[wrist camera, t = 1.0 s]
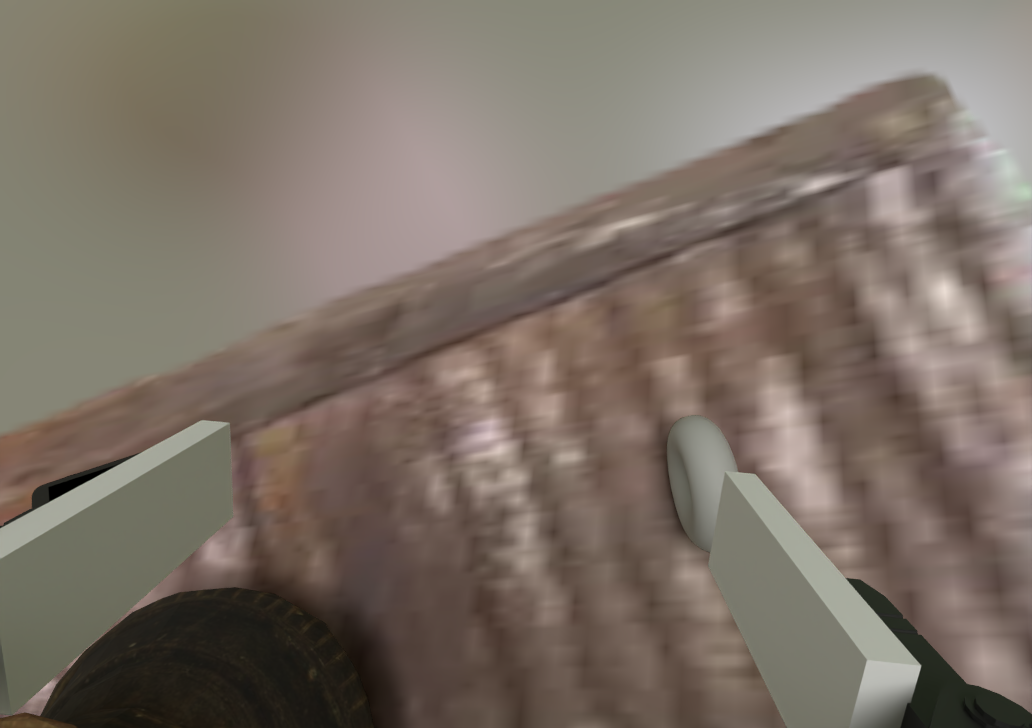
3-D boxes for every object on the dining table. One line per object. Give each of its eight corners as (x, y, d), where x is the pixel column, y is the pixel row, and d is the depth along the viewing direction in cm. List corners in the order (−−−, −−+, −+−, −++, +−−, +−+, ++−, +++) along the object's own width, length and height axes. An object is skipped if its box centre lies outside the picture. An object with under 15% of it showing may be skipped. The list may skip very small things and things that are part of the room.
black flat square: (199, 517, 50) (192, 516, 49) (41, 568, 50) (31, 569, 50) (189, 438, 53) (183, 437, 52) (38, 488, 53) (29, 487, 52)
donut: (724, 547, 45) (764, 552, 35) (680, 552, 45) (708, 559, 35) (696, 424, 48) (727, 398, 38) (656, 430, 48) (676, 405, 38)
